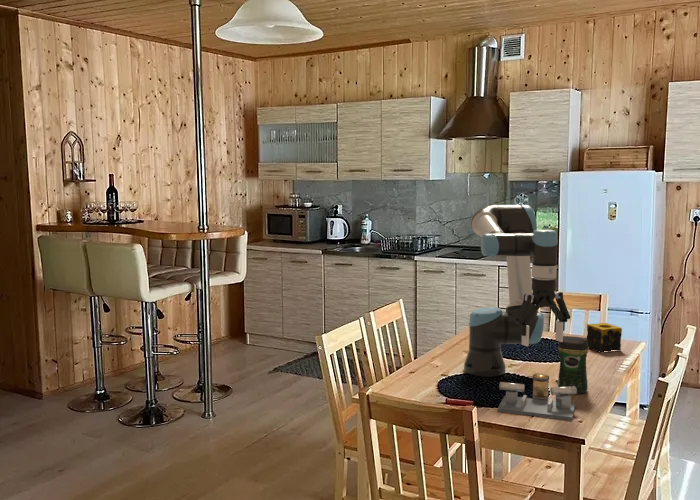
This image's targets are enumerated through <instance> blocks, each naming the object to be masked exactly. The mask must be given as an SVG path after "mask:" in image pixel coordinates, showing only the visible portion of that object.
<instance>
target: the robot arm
mask: <svg viewBox="0 0 700 500" xmlns="http://www.w3.org/2000/svg"><path fill="white" fill-rule="evenodd" d="M535 214H536V213H535V211H534V209H533V208H532V206H531V205H528V204H518V203H517V204H489V205H486V206H483V207H481V208H479V209H478V210H476V211H475V212H474V213H473V215H472V216H471V220H470V226H471V229H472V230H473V232H474V234H476V235H477V236H479V237H480V238H481V239H480V251H481V254H482V255H483V256H485V257H506V269H507V287H508V298H509V299H508V301H509V304H508V305H506V307H505V311H502V310H503V309H502V308H499V307H493V306H491V307H482V308H478V309H475V310H472V311H471V313H470V314H469V319H468V320H469V322H468V326H469V330H468V333H469V335H468V336H469V337H468V338H469V339H468V351H467V354H466V357H465V361H464V364H463V372H465V373H466V374H469V375H471V376H477V377H487V378H488V377H499V376H501V375H502V376H503V375H504V374H506V364H505V361H504V357H503V353H502V345H510V344H511V345H514V344H515V345H517V344H518V345H519V344H520V345H522V346H525V347H529V346H530V344H531V345H533V344H535V345H536V344H538V343H539V342H540V341H541V340H542V339H541V338H542V336H543V333H544V328H545V327H544V326H545V325H544V324H545V322H544V321H545V318H544V314H543V312H541V311H539V309H540V308H541V309H542V308H550V310H551V312H552V313H553V315H554V316H555V318H556V319H557V320H555V341H557V342H563V336H564V331H565V330H566V328H565V326H566V323H567V322H568V320H571V315H570V312H569V310H568V307H567V305H566V302H565V300H564V292H562V291H560V290H559V291H558V290H557V280H556V277H557V269H558V268H557V267H558V266H557V260H558V243H559V240H558V232H557V231H556V230H554V229H537V217H536V215H535ZM530 257H532V264H531V258H530Z"/></svg>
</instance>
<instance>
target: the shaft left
mask: <svg viewBox="0 0 700 500" xmlns="http://www.w3.org/2000/svg"><path fill="white" fill-rule="evenodd" d="M525 386H526V385H525V383H524V384H523V383H516V382H515V383H514V382H508V381H507V382H505V381H499V386H498V387H499V388H498V389H499V390H501V391H505V396H506V404H508V405H516V403H517V397H518V396H519V395H518V394H519V393H520V392H521V393H525ZM518 392H519V393H518Z"/></svg>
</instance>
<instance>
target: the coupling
mask: <svg viewBox="0 0 700 500" xmlns="http://www.w3.org/2000/svg"><path fill="white" fill-rule="evenodd" d="M532 380H533V382H532V399H540V400H549V381H550V375H549V374H547V373H543V372H537V373H536V372H535V373H533V374H532Z"/></svg>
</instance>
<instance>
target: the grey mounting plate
mask: <svg viewBox="0 0 700 500" xmlns="http://www.w3.org/2000/svg"><path fill="white" fill-rule="evenodd" d="M575 408H576V403H575V402H574V403H572V402H571V409H560V408H559V407H558V406H556V400H554V398H552V397H550V398H549V397H548V400H540V399H533V398H531V397H528V396H527V395H525V394H523V396H517V403H516V405H508V404H506V395H504V396H503V398H502V399H501V402H500V403H499V405H498V407H497V412H500V413H506V414H507V413H508V414H517V415H525V416H532V417H540V418H541V417H542V418H549V419H558V420H564V421H565V420H566V421H573V418H574V413H575Z"/></svg>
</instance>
